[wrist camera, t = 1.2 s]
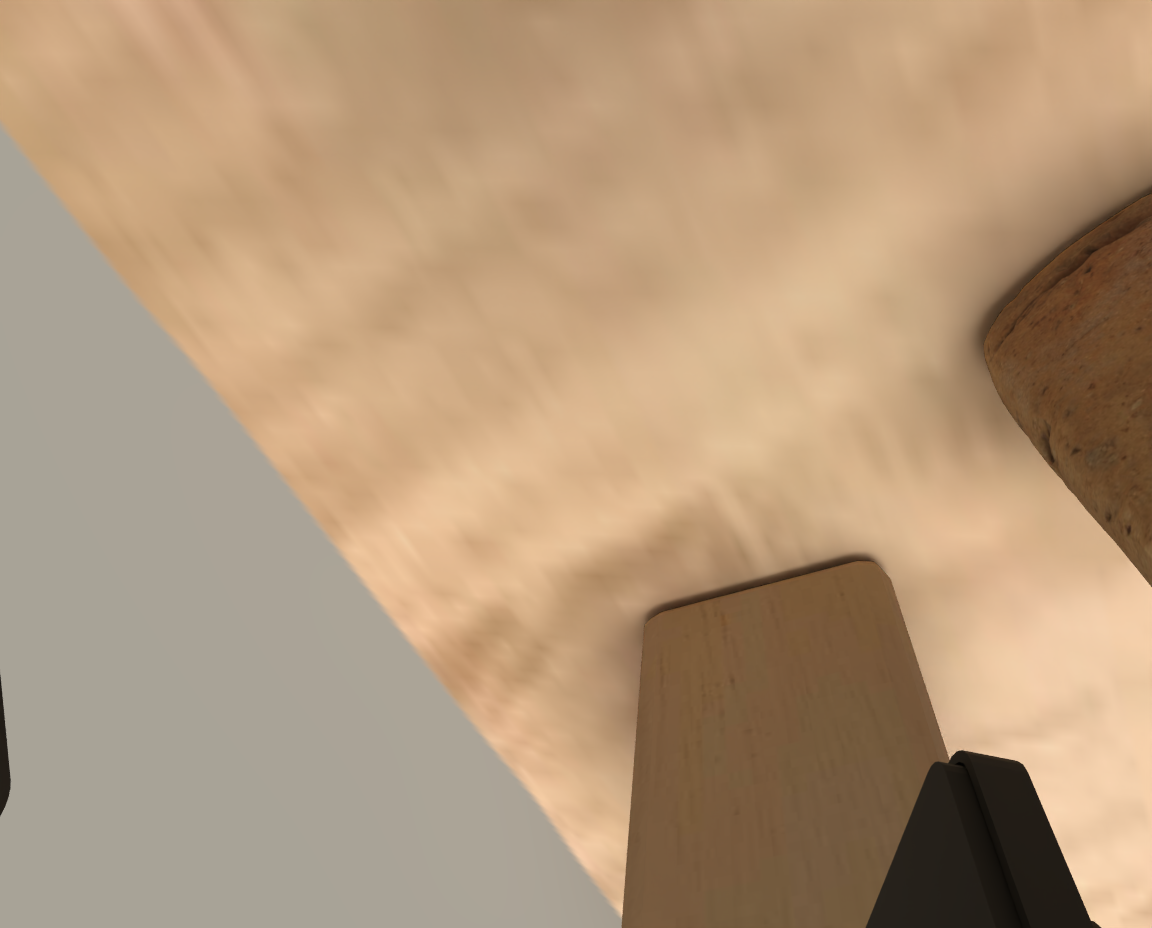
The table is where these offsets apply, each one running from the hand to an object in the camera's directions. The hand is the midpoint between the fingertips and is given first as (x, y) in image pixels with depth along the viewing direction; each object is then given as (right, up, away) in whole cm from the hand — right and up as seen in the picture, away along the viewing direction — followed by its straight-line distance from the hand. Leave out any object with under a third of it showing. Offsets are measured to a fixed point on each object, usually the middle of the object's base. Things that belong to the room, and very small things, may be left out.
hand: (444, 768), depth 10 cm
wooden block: (+10, -6, +33) cm, 35 cm away
